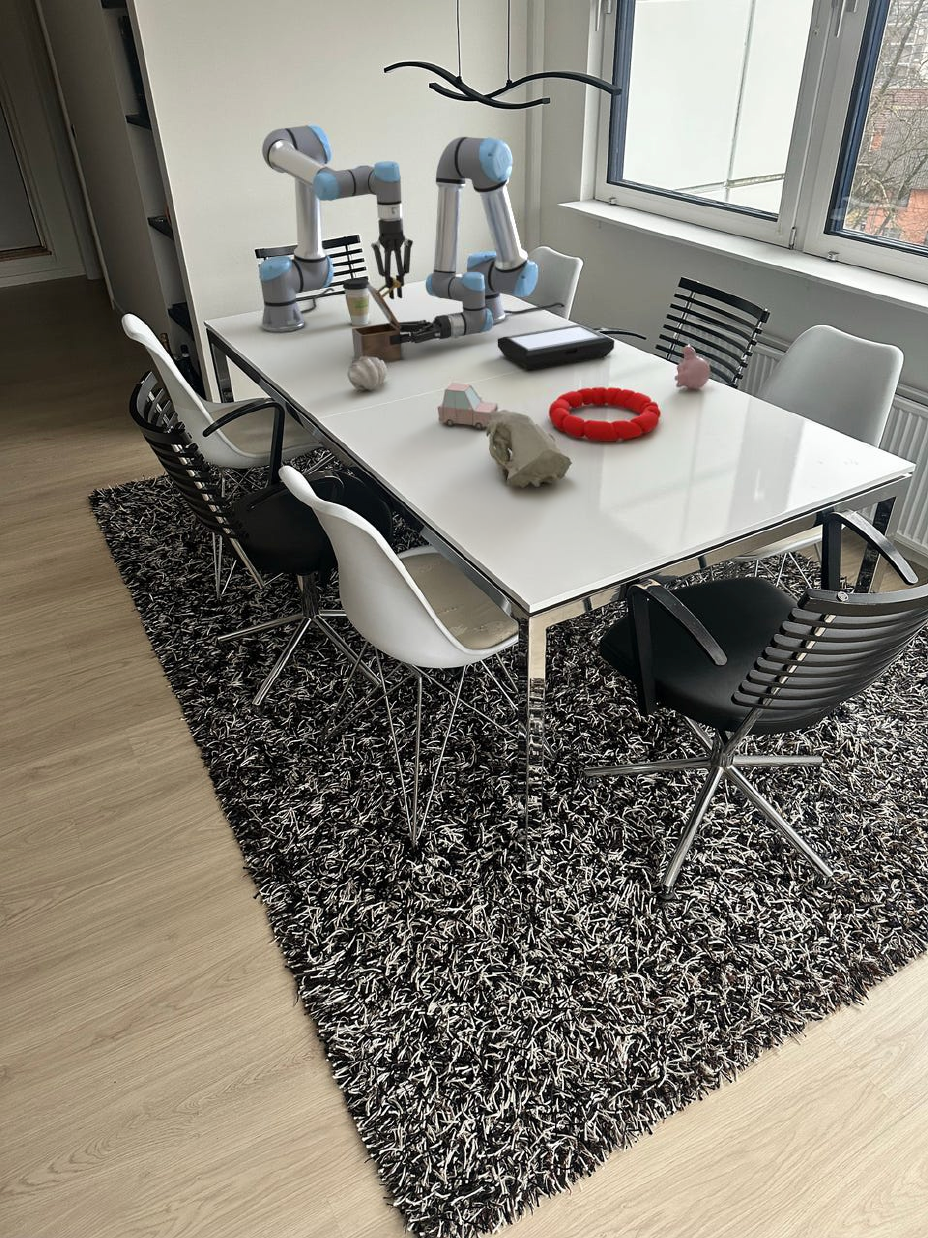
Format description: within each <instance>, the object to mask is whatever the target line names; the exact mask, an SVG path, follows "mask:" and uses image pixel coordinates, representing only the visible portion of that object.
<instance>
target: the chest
mask: <svg viewBox="0 0 928 1238" xmlns="http://www.w3.org/2000/svg"><path fill="white" fill-rule="evenodd" d="M400 334H402V332H401V331H400V330H399V329H398V328H397V327H395V326H394V325H393V324H391V323H390V322H385V323H380V324H379V323H378V324H373V325H367V326H366V325H364V326H357V327H352V328H351V335H352V336H351V337H352V345H353V347H352V348H353V356H354V359H360V357H361V356H363V357H365V356H368V357H374V358H376V357H377V358H378V359H379V360H383V361H384V363H389V362H390V363H391V362H395V361H401V360H403V350H402V349H403V348H402V343H401V344H395V345H391V343H390V336H394V335H400Z"/></svg>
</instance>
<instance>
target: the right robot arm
mask: <svg viewBox="0 0 928 1238" xmlns="http://www.w3.org/2000/svg"><path fill="white" fill-rule="evenodd" d="M512 165H513V155H512V152H511V149H510V147H509V145H508V144H507V143H506V142H505V141H504V140H501V139H497V138H493V137H486V138H484V137H471V136H470V137H469V136H459V137H456V138H454V139H452V140H451V141H450V142H449V143H448V144H447V145H446V147H444V149H443V151H442V153H441V155H440V158H439V160H438V164H437V166H436V172H435V184H436V185H437V187H438V188H437V189H438V192H437V204H436V205H437V207H436V222H435V223H436V224H435V226H436V227H435V242H434V261H433V272H432V273H430V274H428V275H427V277H426V280H425V290H426V292H427V294H428V295H429V296H432V297H436V298H438V299H445V300H452V301H456V302H462V311H460V312H453V313H447V314H441V315H436V316H434V319H433V321H432V322H431V321H427V320H426V319H422V320H421V319H420V320H411V321H398V323H399V324H400V326H401V327H402V328H400V329H399V330H400V331H401V334H400V335H394V336H390V343H391V345H395V344H401V345H402V344H407V343H414V344H421V343H425V342H428V341H431V340H437V339H438V340H445V339H449V338H455V339H458V337H462V336H468V335H475V334H476V335H477V334H482V333H487V332H489V331H491V330H492V328H493V326H494V325H496V324H500V323H502V322H504V321H505V320H506V314H513V315H514V314H515V315H518V314H523V313H527V312H532V311H536V310H544V309H550V308H554V307H556V306H561V307H564V308H565V307H566V305H565V304H564V303H562V302H558V301H557V302H554V303H552V304H548V305H541V306H535V307H530V308H529V307H528V308H525V309H520V310H506V309H504V307H503V304H502V300H501V294H502V295H508V296H512V297H513V296H514V297H517V298H519V297H521V298H522V297H523V298H525V297H527V296H529V295H530V294H532V292H533V291H534V290H535V287H536V285H537V282H538V278H539V268H538V265H537V264H536V262H534V261H532V260H531V261H530V260H529V257H528V253H527V251H526V250H525V249H523V248H522V247H521V243H520V237H519V234H518V230H517V226H516V223H515V222H516V221H515V218H514V213H513V209H512V205H511V201H510V196H509V193H508V189H507V184H508V183H509V179H510V176H511V174H512V171H513V166H512ZM466 179H467V180H471V185H472V188H473V190H474V191H475V192H476V193H478V194H479V195H480V199H481V203H482V206H483V210H484V214H485V218H486V221H487V225H488V228H489V232H490V236H491V240H492V244H493V247H494V250H487V251H480V252H476V253H473V254H470V255H468V257H467V260H466V272H464V273H463V274H462V275H461V276H457V274H456V273H457V272H456V271H457V262H458V261H457V259H458V248H459V247H458V245H459V232H460V218H461V206H462V205H461V204H462V191H463V188H464V187H466Z"/></svg>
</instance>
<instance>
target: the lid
mask: <svg viewBox="0 0 928 1238" xmlns="http://www.w3.org/2000/svg"><path fill="white" fill-rule="evenodd" d="M391 277H392V278H393V286H392V287H391V288H390V289H389V288H388V289H387V288H386V284H385V283H384V285H382V286H381V287H380V288H379V289H377V288H375V287H373V286H372V285H371V284H370V285H369V284H368V285H367V286H366V287H367V288H368V290H369V294H371V296H372V298H373V299H374V301H375V303H376V304H377V305H378V307H379V309H380V310H381V312H382V314H383V315H384V317H385V318H386V320H387V321H388V323H391V324H393V325H394V326H395V327H397V328H398V329H400V328H402V327H401V326H400V324H399V323H398V322H399V321H398V319H397V317H396V316H395V315H394V313H393V311H392V310H391V308H390V307H389V305H388V303H387V302H386V301H385V299H384V297H386V296H387V295H389V293H390V292H391V291H392V290H393V289H394V290H395V289H397V288H400V286H401V283H400V282H399V281H398V280H396V277H395V278H394V277H393V276H391ZM384 289H387V290H386V291H385V292H383V293H382V294H381V292H382V291H383V290H384Z"/></svg>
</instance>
